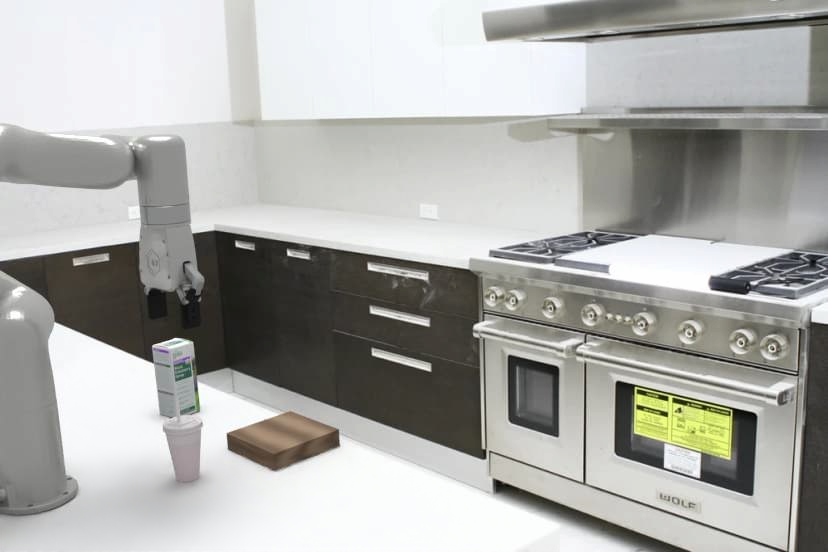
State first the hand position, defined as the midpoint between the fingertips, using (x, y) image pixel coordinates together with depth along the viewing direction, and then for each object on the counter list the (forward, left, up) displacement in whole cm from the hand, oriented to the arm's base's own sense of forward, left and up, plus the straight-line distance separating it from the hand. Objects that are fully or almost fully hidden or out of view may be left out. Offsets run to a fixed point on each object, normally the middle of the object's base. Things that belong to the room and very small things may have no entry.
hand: (174, 322), depth 141 cm
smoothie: (0, 0, -26) cm, 26 cm away
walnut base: (+18, -2, -26) cm, 32 cm away
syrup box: (+15, +28, -26) cm, 41 cm away
